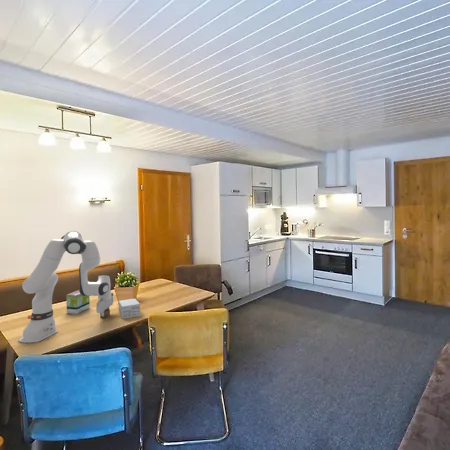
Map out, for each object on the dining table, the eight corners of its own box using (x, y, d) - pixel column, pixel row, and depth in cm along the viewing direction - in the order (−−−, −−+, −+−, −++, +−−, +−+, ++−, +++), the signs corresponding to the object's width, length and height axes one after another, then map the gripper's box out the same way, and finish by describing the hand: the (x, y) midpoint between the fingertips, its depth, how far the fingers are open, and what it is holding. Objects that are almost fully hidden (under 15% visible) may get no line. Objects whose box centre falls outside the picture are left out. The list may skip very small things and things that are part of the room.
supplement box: (140, 316, 224) (140, 303, 223) (122, 319, 218) (121, 306, 217) (135, 309, 239) (135, 297, 238) (118, 312, 233) (118, 300, 232)
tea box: (77, 314, 229) (77, 295, 228) (66, 313, 231) (65, 294, 230) (90, 307, 244) (89, 289, 243) (79, 307, 246) (78, 289, 245)
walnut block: (107, 318, 220) (106, 311, 220) (100, 317, 220) (100, 311, 220) (109, 315, 225) (109, 309, 225) (103, 315, 225) (103, 309, 225)
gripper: (102, 300, 211) (102, 319, 212) (114, 292, 232) (115, 310, 232) (93, 300, 212) (94, 319, 212) (106, 292, 232) (107, 309, 233)
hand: (105, 314), depth 223 cm, fingers closed on walnut block, 5 cm apart
